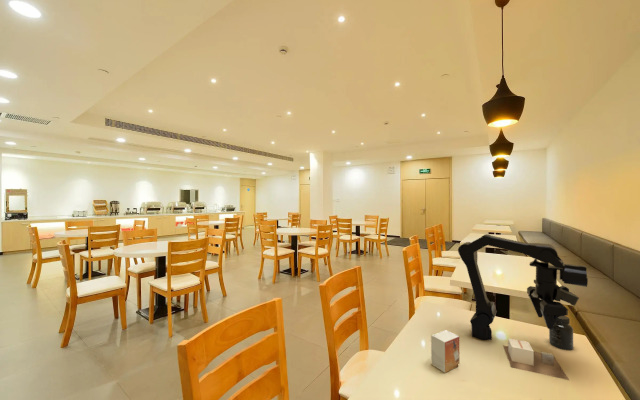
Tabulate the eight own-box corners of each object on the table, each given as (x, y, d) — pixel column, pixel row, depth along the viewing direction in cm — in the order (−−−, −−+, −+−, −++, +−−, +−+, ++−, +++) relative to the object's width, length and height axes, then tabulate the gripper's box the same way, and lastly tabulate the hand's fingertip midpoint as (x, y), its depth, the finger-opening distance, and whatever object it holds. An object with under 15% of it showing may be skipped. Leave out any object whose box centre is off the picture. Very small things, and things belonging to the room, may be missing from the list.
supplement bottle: (578, 353, 96) (578, 321, 96) (556, 352, 98) (556, 320, 97) (564, 343, 103) (564, 313, 103) (544, 341, 104) (544, 312, 104)
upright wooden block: (542, 363, 90) (542, 353, 90) (541, 361, 91) (541, 351, 91) (553, 366, 88) (553, 355, 88) (552, 363, 89) (552, 353, 89)
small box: (444, 373, 87) (444, 342, 87) (430, 364, 92) (430, 334, 92) (460, 366, 91) (460, 336, 91) (445, 357, 96) (445, 329, 96)
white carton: (533, 365, 89) (533, 350, 89) (512, 361, 91) (511, 346, 91) (528, 355, 94) (528, 341, 94) (508, 351, 97) (508, 338, 97)
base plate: (511, 370, 88) (511, 367, 88) (502, 347, 101) (502, 345, 101) (569, 383, 82) (569, 380, 82) (552, 357, 94) (552, 354, 94)
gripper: (590, 292, 82) (588, 341, 82) (563, 275, 99) (562, 315, 99) (545, 287, 86) (543, 334, 87) (527, 271, 103) (525, 310, 104)
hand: (544, 322), depth 94 cm, fingers open, 9 cm apart
